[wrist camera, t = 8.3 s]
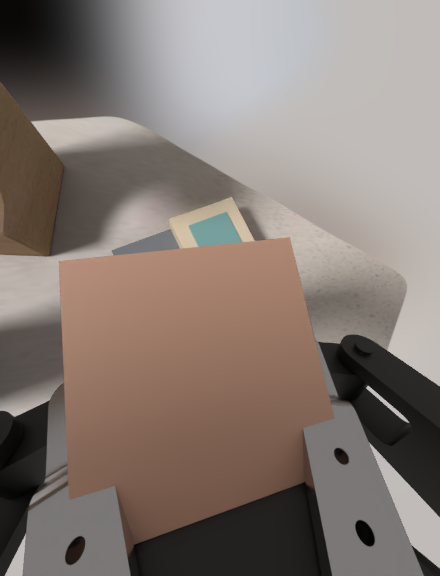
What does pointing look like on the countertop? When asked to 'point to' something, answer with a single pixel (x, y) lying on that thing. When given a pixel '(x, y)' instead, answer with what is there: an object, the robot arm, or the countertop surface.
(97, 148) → the countertop surface
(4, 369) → the countertop surface
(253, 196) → the countertop surface
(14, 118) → the decorative block
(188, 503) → the terracotta block
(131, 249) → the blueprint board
